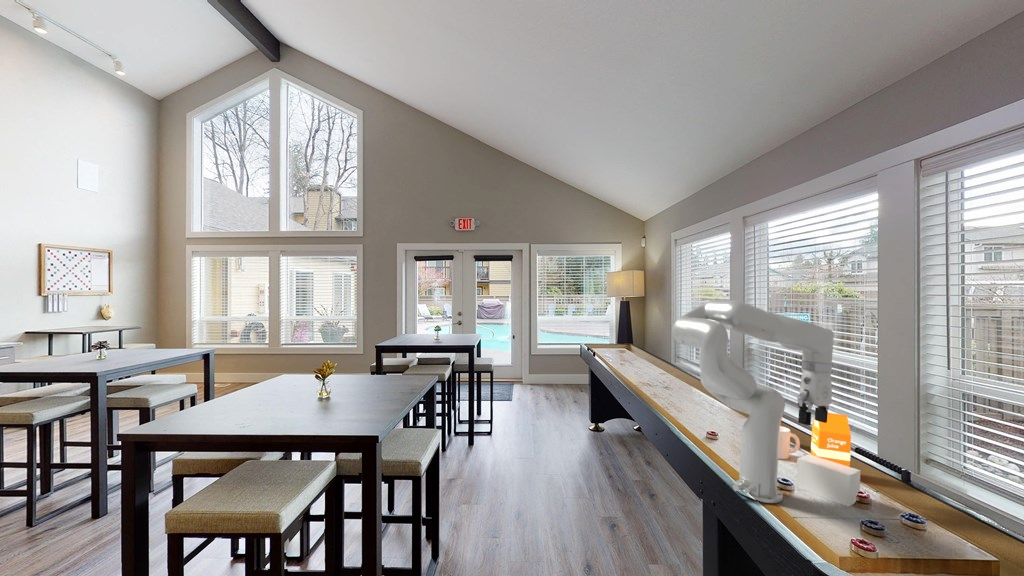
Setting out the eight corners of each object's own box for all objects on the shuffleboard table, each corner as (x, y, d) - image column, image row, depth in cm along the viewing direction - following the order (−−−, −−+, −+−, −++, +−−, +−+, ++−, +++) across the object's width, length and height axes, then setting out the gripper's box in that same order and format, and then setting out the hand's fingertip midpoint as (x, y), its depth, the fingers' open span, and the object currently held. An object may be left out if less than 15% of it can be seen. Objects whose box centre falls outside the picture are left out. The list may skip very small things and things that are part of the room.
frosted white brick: (848, 506, 117) (849, 475, 117) (796, 486, 129) (797, 458, 129) (859, 500, 121) (860, 470, 122) (807, 482, 133) (809, 454, 133)
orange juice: (849, 479, 136) (852, 418, 137) (817, 474, 139) (820, 414, 140) (840, 470, 144) (842, 412, 144) (809, 465, 147) (812, 408, 147)
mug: (794, 454, 157) (795, 426, 157) (804, 462, 149) (806, 433, 149) (759, 450, 160) (760, 423, 160) (768, 458, 151) (769, 430, 151)
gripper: (815, 370, 122) (811, 429, 122) (844, 369, 130) (840, 424, 130) (788, 365, 128) (784, 421, 128) (817, 364, 137) (813, 417, 137)
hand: (812, 422), depth 129 cm, fingers open, 9 cm apart
